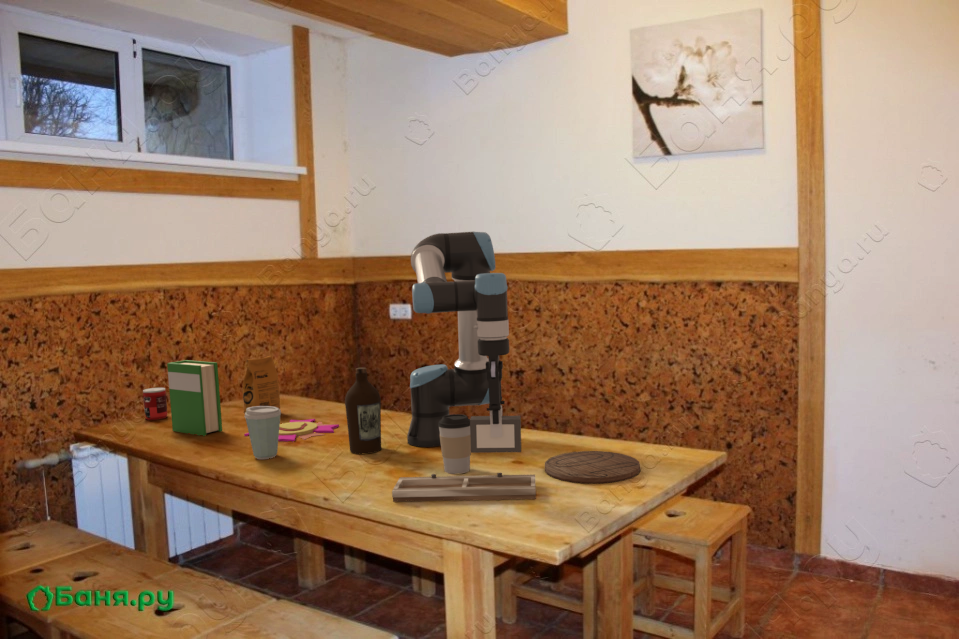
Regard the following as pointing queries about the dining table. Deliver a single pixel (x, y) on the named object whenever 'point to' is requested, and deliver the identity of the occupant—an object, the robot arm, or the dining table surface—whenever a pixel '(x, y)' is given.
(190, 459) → the dining table surface
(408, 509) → the dining table surface
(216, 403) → the hardback book
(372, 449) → the olive oil
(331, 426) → the wall ornament
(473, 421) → the picture frame
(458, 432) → the coffee cup
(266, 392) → the coffee package
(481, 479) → the wooden compartment tray
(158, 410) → the canned food
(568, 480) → the trivet
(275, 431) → the disposable coffee cup
